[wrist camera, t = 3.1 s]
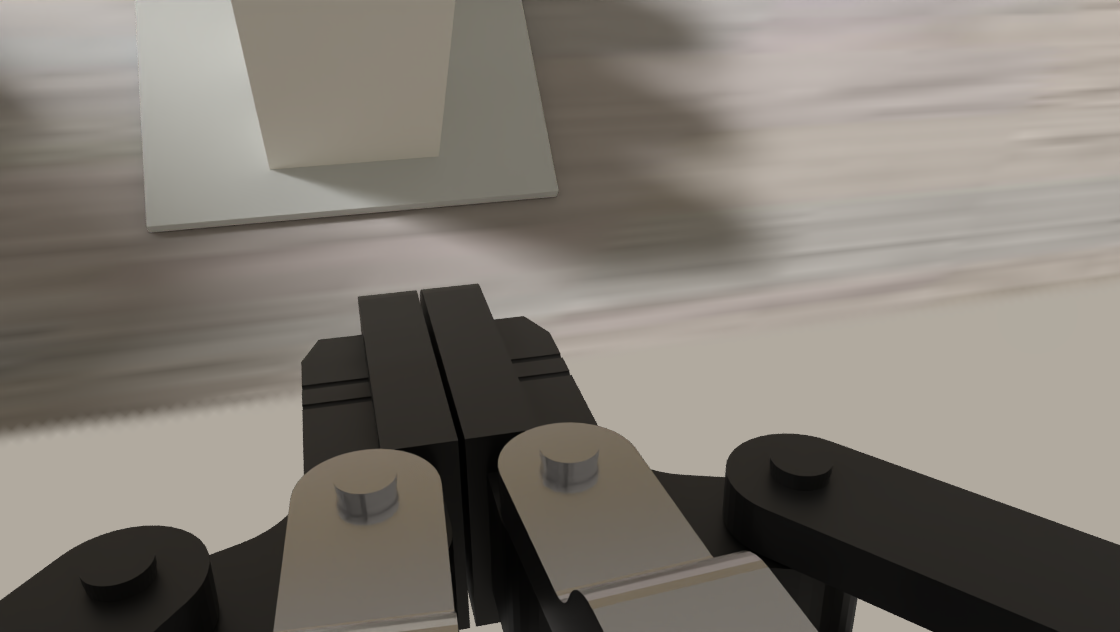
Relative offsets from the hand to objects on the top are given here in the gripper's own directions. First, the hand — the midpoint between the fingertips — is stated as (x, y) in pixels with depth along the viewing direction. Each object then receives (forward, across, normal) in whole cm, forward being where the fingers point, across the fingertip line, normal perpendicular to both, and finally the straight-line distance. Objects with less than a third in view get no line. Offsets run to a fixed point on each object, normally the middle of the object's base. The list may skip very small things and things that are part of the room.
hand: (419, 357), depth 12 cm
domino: (+19, 0, +2) cm, 19 cm away
